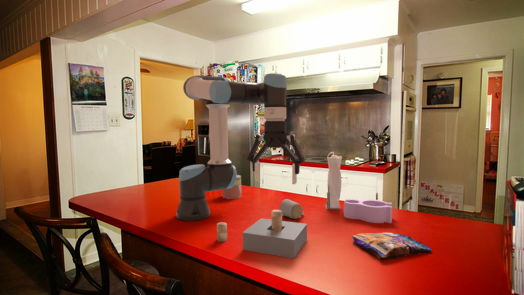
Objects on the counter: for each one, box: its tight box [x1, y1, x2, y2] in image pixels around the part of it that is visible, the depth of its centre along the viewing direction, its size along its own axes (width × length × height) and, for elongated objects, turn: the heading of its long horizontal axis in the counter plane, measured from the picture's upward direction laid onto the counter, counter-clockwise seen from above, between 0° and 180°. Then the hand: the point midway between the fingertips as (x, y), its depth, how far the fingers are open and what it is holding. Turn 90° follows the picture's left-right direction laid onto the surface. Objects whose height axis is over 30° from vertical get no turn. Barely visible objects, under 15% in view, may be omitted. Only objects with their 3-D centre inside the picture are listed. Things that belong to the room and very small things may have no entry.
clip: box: [343, 198, 393, 224], centre depth 132 cm, size 20×12×7 cm, turn 66°
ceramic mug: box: [279, 198, 305, 220], centre depth 135 cm, size 11×8×8 cm
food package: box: [351, 232, 432, 260], centre depth 101 cm, size 22×25×4 cm
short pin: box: [216, 221, 228, 243], centre depth 108 cm, size 4×4×6 cm
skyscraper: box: [324, 151, 343, 210], centre depth 149 cm, size 8×8×28 cm
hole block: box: [242, 218, 308, 259], centre depth 103 cm, size 18×16×6 cm
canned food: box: [221, 174, 242, 200], centre depth 173 cm, size 11×11×12 cm
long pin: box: [271, 209, 283, 232], centre depth 103 cm, size 4×4×12 cm
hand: (275, 182), depth 102 cm, fingers open, 13 cm apart
